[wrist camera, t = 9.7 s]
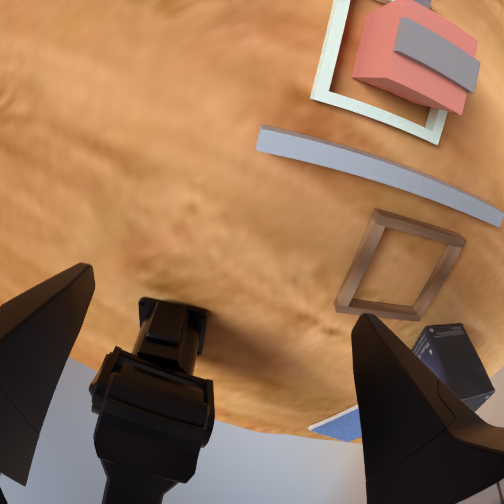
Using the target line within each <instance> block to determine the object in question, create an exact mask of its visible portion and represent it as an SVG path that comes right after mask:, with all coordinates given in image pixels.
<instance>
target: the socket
mask: <svg viewBox="0 0 504 504" xmlns="http://www.w3.org/2000/svg"><path fill="white" fill-rule="evenodd" d="M376 1H378V2H380V3H383V4H385V5H386V4H388V3H390V2H392V1H394V0H376ZM413 1H415V2H417V3H419V4H421V5H422V6H424V7H426V8H428V9H430V3H431V0H413ZM349 5H350V0H334V1H333V5H332V10H331V14H330V18H329V22H328V27H327V31H326V35H325V39H324V43H323V48H322V52H321V56H320V60H319V64H318V68H317V72H316V76H315V80H314V84H313V88H312V92H311V96H310V99H313V100H317V101H321V102H324V103H328V104H331V105H334V106H337V107H341V108H344V109H347V110H350V111H353V112H356V113H359V114H362V115H365V116H368V117H370V118H373V119H376V120H379V121H381V122H384V123H386V124H389V125H392V126H394V127H397V128H399V129H402V130H404V131H406V132H409V133H411V134H413V135H416V136H418V137H420V138H422V139H425V140H427V141H429V142H431V143H433V144H436V145H438V143H439V140H440V137H441V133H442V130H443V127H444V123H445V120H446V116H447V113H448V112H447V111H444V110H440V109H436V108H432V107H431V108H430V111H429V115H428V118H427V122H426V125H425V128H424V127H422V126H420V125H418V124H415V123H413V122H411V121H409V120H406V119H404V118H402V117H399V116H397V115H394V114H392V113H390V112H387V111H385V110H382V109H379V108H377V107H374V106H371V105H369V104H366V103H363V102H360V101H357V100H355V99H352V98H349V97H346V96H342V95H339V94H336V93H333V92H330V91H329V88H330V84H331V80H332V76H333V72H334V68H335V64H336V60H337V56H338V52H339V48H340V43H341V39H342V35H343V31H344V26H345V22H346V18H347V13H348V9H349Z"/></svg>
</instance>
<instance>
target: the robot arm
mask: <svg viewBox="0 0 504 504" xmlns="http://www.w3.org/2000/svg"><path fill="white" fill-rule="evenodd" d="M94 290H95V280H94V272H93V267H92V265H90V264H87V263H78V264H76V265H74V266H72V267H70V268H69V269H67V270H65V271H63V272H61V273H59V274H57V275H55V276H53V277H51V278H49V279H47V280H46V281H44V282H42V283H40V284H38V285H36V286H34V287H33V288H31V289H29V290H27V291H25V292H24V293H22V294H20V295H18V296H16V297H15V298H13V299H11V300H9V301H8V302H6V303H4V304H2V305H1V307H0V475H1V473H3V474H4V475H6V476H7V477H9V478H11V479H12V480H14V481H16V482H18V483H20V484H21V485H23V486H26V483H27V479H28V474H29V471H30V467H31V463H32V459H33V456H34V452H35V449H36V445H37V441H38V438H39V433H40V431H41V428H42V425H43V422H44V419H45V416H46V413H47V410H48V407H49V405H50V402H51V399H52V397H53V393H54V391H55V389H56V386H57V383H58V381H59V378H60V376H61V373H62V371H63V368H64V366H65V364H66V361H67V359H68V357H69V354H70V352H71V350H72V347H73V345H74V343H75V341H76V338H77V336H78V334H79V332H80V329H81V327H82V324H83V321H84V318H85V315H86V313H87V310H88V307H89V304H90V301H91V299H92V296H93V293H94ZM143 302H144V303H143ZM138 305H139V319H140V332H139V335H138V337H137V340H136V343H135V345H134V348H133V351H132V353H129V352H127V351H124V350H122V348H120V347H117V346H115V348H114V351H113V353H112V352H110V354H106V356H105V359H104V361H103V364H102V366H101V368H100V370H99V372H98V373H97V375H96V376H95V378H94V379H93V381H92V382H91V384H90V387H89V392H90V394H91V396H92V403H93V404H92V412H93V413H95V414H98V415H99V417H98V420H97V424H96V428H95V431H94V437H93V438H94V445H95V449H96V453H97V456H98V458H100V460H101V463H102V466H103V468H104V471H105V474H106V476H107V481H106V485H105V490H104V495H103V500H102V504H161V503H162V499H163V496H164V494H165V493H166V492H168V491H169V490H170V489H171V488H173V487H174V486H175V485H176V484H177V483H179V482H180V483H187V482H188V480H190V478H191V477H192V476H193V475H194V474H195V470H196V465H197V459H198V455H199V451H200V448H203V447H205V446H206V444H207V443H208V441H209V439H210V436H211V433H212V430H213V425H214V419H215V409H214V391H213V381H212V380H209V379H202V378H199V377H196V376H193V372H194V367H195V361H196V355H201V354H202V350H203V342H204V335H205V328H206V321H207V315H208V313H207V311H206V310H204V309H199V308H193V307H188V306H183V305H178V304H173V303H168V302H163V301H158V300H153V299H149V298H141V299H140V300H139V303H138ZM201 314H203V315H201ZM351 340H352V357H353V374H354V381H355V388H356V395H357V402H358V409H359V417H360V425H361V434H362V443H363V453H364V464H365V476H366V494H367V504H504V428H502V427H495V426H492V425H490V424H488V423H486V422H485V421H484V420H482V419H481V418H480V417H479V416H478V415H477V414H476V413H475V412H474V411H472V410H471V409H470V408H469V407H468V406H467V405H466V404H465V403H464V402H463V401H461V400H460V399H459V398H458V397H457V396H456V395H455V394H454V393H453V392H452V391H451V390H450V389H449V388H448V387H447V386H446V385H445V384H444V383H443V382H442V381H441V380H440V379H439V378H437V376H436V375H435V374H434V373H433V372H432V371H431V370H430V369H429V368H428V367H427V366H426V365H425V364H424V363H423V362H422V361H421V360H420V359H419V358H418V357H417V356H416V355H415V354H414V353H413V352H412V351H411V350H410V349H409V348H408V347H407V346H406V345H405V344H404V343H403V342H402V341H401V340H400V339H399V338H398V337H397V336H396V335H395V334H394V333H393V332H392V331H391V330H390V329H389V328H388V327H387V326H386V325H385V324H384V323H383V322H382V321H381V320H380V319H379V318H378V317H377V316H376V315H374V314H372V313H362V314H361V315H360V317H359V319H358V320H357V322H356V324H355V326H354V327H353V329H352V333H351ZM0 504H7V501H6V499H5V497H4V495H3V492H2V490H1V488H0Z"/></svg>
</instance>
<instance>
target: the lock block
mask: <svg viewBox="0 0 504 504" xmlns="http://www.w3.org/2000/svg"><path fill="white" fill-rule="evenodd" d="M477 42H478V41H477V40H476V39H474V38H473V37H472V36H470V35H469V34H467V33H466V32H465V31H463V30H462V29H460V28H459V27H457V26H456V25H454V24H453V23H451V22H449V21H448V20H446V19H445V18H443V17H441V16H440V15H438V14H436V13H435V12H433V11H431V10H430V9H428V8H426V7H424V6H422V5H421V4H419V3H417V2H415V1H413V0H394V1H392V2H390V3H388V4H386V5H384V6H382V7H380V8H378V9H376V10H374V11H372V12H370V13H369V14H367V15H365V19H364V24H363V28H362V32H361V37H360V41H359V45H358V49H357V54H356V58H355V62H354V66H353V70H352V74H351V78H353V79H356V80H359V81H362V82H364V83H367V84H370V85H372V86H375V87H378V88H380V89H383V90H385V91H387V92H390V93H392V94H395V95H397V96H399V97H401V98H404V99H406V100H408V101H410V102H412V103H416V104H420V105H425V106H429V107H432V108H436V109H440V110H444V111H447V112H451V113H454V114H458V115H462V112H463V108H464V104H465V100H466V96H467V92H470V93H474V91H475V87H476V82H477V78H478V73H479V68H480V62H479V61H478V60H476V59H475V54H476V48H477Z"/></svg>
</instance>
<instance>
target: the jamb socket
mask: <svg viewBox="0 0 504 504" xmlns="http://www.w3.org/2000/svg"><path fill="white" fill-rule="evenodd" d="M385 227H388V228H392V229H396V230H400V231H403V232H407V233H411V234H414V235H418V236H421V237H425V238H429V239H432V240H435V241H439V242H442V243H446V244H448V245H447V247H446V249H445V251H444V253H443V255H442V257H441V259H440V261H439V263H438V265H437V266H436V268H435V270H434V272H433V274H432V275H431V277H430V279H429V281H428V282H427V284H426V286H425V288H424V289H423V291H422V293H421V294H420V296H419V298H418V299H417V301H416V303H415V304H414V306H413V307H408V306H400V305H393V304H385V303H378V302H370V301H363V300H356V299H352V297H353V296H354V294H355V292H356V290H357V288H358V286H359V283H360V281H361V279H362V277H363V275H364V273H365V271H366V269H367V267H368V265H369V263H370V260H371V258H372V256H373V254H374V252H375V249H376V247H377V245H378V243H379V241H380V238H381V236H382V234H383V231H384V229H385ZM465 242H466V240H465V239H464V238H463V237H462V236H461V235H460V234H458V233H455V232H452V231H449V230H446V229H443V228H440V227H436V226H433V225H430V224H427V223H424V222H421V221H417V220H414V219H411V218H408V217H404V216H401V215H397V214H394V213H391V212H387V211H384V210H380V209H376V208H375V209H374V212H373V215H372V217H371V220H370V222H369V225H368V227H367V230H366V232H365V234H364V237H363V239H362V242H361V244H360V246H359V249H358V251H357V253H356V256H355V258H354V260H353V263H352V265H351V267H350V269H349V271H348V274H347V276H346V278H345V280H344V282H343V285H342V287H341V289H340V291H339V293H338V295H337V297H336V299H335V302H334V306H335V310H336V312H337V313H345V314H353V315H361V314H362V313H372V314H374V315H376V316H377V317H379V318H389V319H398V320H409V321H419V320H420V319H421V317H422V316H423V314H424V313H425V311H426V310H427V308H428V307H429V305H430V304H431V302H432V300H433V299H434V297H435V296H436V294H437V292H438V291H439V289H440V287H441V286H442V284H443V282H444V281H445V279H446V277H447V275H448V274H449V272H450V270H451V268H452V267H453V265H454V263H455V261H456V259H457V257H458V256H459V254H460V252H461V250H462V248H463V246H464V244H465Z"/></svg>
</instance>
